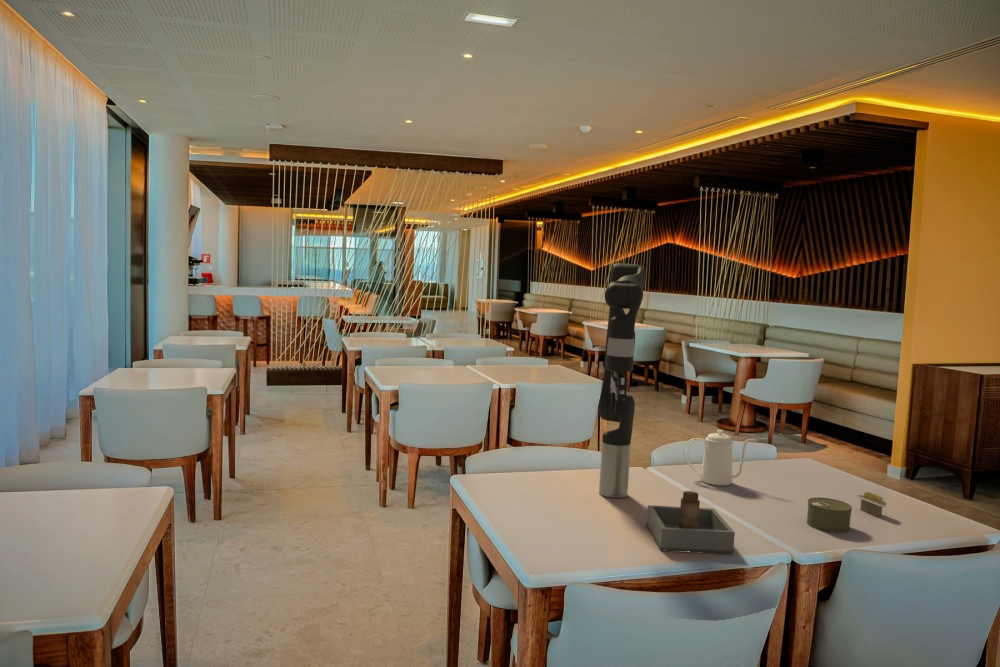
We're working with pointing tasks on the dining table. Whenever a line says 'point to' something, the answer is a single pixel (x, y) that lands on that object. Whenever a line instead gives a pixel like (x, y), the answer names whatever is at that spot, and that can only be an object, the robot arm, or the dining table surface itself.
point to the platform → (871, 504)
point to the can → (829, 515)
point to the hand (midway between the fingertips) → (616, 410)
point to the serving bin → (690, 531)
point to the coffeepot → (718, 459)
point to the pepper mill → (689, 510)
